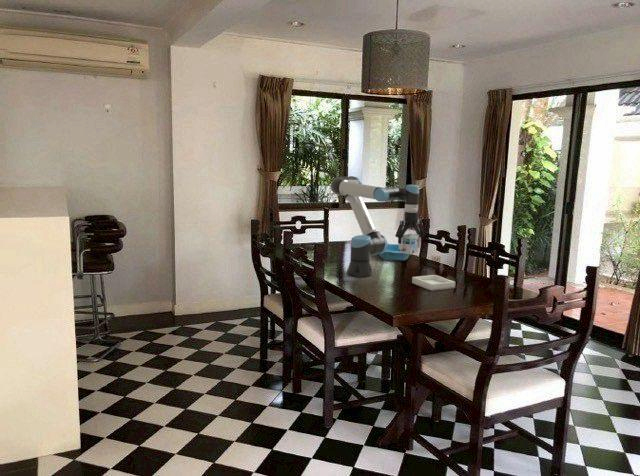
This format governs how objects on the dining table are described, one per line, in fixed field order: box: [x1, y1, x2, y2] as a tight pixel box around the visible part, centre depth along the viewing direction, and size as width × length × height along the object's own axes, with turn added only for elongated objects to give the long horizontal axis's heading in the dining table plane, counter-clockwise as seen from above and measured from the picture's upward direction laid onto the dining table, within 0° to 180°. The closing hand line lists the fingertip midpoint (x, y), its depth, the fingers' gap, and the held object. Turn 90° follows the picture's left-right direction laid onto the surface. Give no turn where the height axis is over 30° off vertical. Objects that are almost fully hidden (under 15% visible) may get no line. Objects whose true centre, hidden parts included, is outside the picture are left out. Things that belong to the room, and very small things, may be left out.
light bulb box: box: [400, 232, 419, 255], centre depth 294 cm, size 11×7×11 cm, turn 143°
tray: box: [411, 274, 456, 292], centre depth 284 cm, size 16×18×4 cm
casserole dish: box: [378, 243, 410, 261], centre depth 363 cm, size 37×22×7 cm, turn 4°
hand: (409, 248), depth 295 cm, fingers closed on light bulb box, 12 cm apart
